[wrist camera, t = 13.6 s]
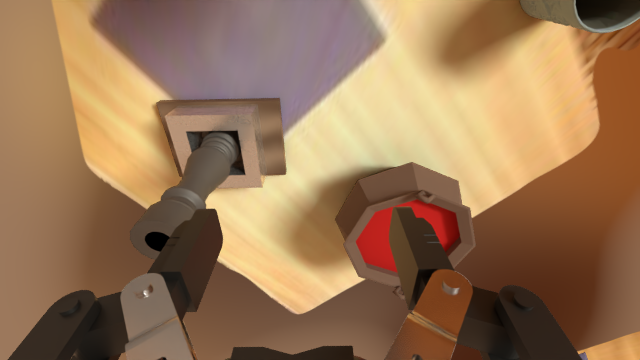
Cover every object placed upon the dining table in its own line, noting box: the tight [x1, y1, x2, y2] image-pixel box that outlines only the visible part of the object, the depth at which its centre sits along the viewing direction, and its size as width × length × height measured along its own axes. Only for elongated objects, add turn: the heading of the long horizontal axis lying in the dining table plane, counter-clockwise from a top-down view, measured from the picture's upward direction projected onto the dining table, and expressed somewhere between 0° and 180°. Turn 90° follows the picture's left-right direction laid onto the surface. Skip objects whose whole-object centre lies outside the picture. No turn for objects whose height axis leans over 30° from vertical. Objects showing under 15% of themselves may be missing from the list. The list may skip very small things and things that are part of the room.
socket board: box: [156, 98, 286, 177], centre depth 51 cm, size 14×20×2 cm
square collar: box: [165, 104, 267, 188], centre depth 48 cm, size 13×13×5 cm
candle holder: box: [130, 130, 241, 260], centre depth 40 cm, size 6×6×25 cm
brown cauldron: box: [335, 162, 476, 300], centre depth 52 cm, size 24×24×16 cm
